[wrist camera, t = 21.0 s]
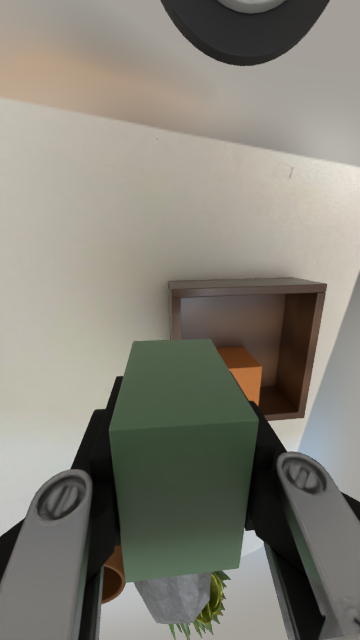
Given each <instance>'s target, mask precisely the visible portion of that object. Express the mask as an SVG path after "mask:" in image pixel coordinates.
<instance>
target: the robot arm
mask: <svg viewBox="0 0 360 640" xmlns="http://www.w3.org/2000/svg"><path fill="white" fill-rule="evenodd" d="M217 1H218V2H220V3H221V4H222V5H224V6H225V7H228V8H230V9H232V10H235V11H237V12H242V13H249V14H253V13H261V12H265V11H268V10H270V9H273V8H275V7H277V6H278V5H280V4H281V3H283V2H284V1H286V0H217ZM230 372H231V371H230ZM231 374H232V372H231ZM232 376H233V374H232ZM123 377H124V376H117V377H116V380H115V383H114V386H113V389H112V392H111V395H110V398H109V401H108V404H107V407H106V409H97V410H95V411H94V412H93V414H92V417H91V419H90V422H89V424H88V427H87V429H86V432H85V434H84V437H83V439H82V442H81V444H80V447H79V449H78V452H77V454H76V457H75V459H74V462H73V464H72V467H71V469H70V470H67V471H63V472H60V473H59V474H57V475H55V476H53V477H51V478H50V479H49V480H48V481H47V482H45V483H44V484H43V485H42V486H41V488H40V489H39V490H38V491H37V492H36V494H35V496H34V498H33V500H32V501H31V504H30V507H29V509H28V512H27V514H26V517H25V518H24V519H23V520H22V521H20V522H19V523H18V524H16V525H15V526H14V527H12V528H11V529H10V530H8V531H7V532H6V533H5V534H3V535H2V536H1V537H0V640H99V627H100V614H101V601H102V586H103V572H104V563H105V562H106V561H107V560H108V559H109V558H110V556H111V555H112V554H113V553H114V550H115V546H119V545H120V542H121V537H120V528H119V518H118V509H117V500H116V491H115V482H114V473H113V463H112V454H111V445H110V436H109V427H110V423H111V420H112V416H113V413H114V409H115V405H116V402H117V398H118V395H119V391H120V388H121V384H122V380H123ZM233 377H234V376H233ZM234 379H235V377H234ZM235 381H236V382H237V380H236V379H235ZM237 384H238V382H237ZM238 386H239V387H240V385H239V384H238ZM240 389H241V387H240ZM241 391H242V392H243V390H242V389H241ZM243 394H244V392H243ZM244 396H245V397H246V395H245V394H244ZM246 399H247V401H248V402H249V404H250V406H251V407H252V409H253V411H254V412H255V414H256V416H257V417H258V419H259V422H258V430H257V437H256V444H255V452H254V459H253V467H252V474H251V482H250V489H249V497H248V504H247V511H246V519H245V526H244V527H245V530H246V531H250V530H255V533H256V536H258V537H259V538H260V539H261V540H263V541H264V547H265V551H266V555H267V559H268V562H269V566H270V570H271V574H272V578H273V582H274V586H275V590H276V593H277V597H278V601H279V605H280V609H281V613H282V617H283V620H284V625H285V629H286V632H287V636H288V640H360V502H359V501H357V500H355V499H353V498H352V497H349V496H348V495H346V494H344V493H342V492H341V491H340V490H339V489H338V487H337V486H336V484H335V483H334V481H333V479H332V478H331V476H330V475H329V473H328V472H327V471H326V470H325V468H324V467H323V466H322V465H321V464H320V463H318V462H317V461H316V460H314V459H313V458H311V457H309V456H307V455H305V454H302V453H299V452H293V451H291V452H287V451H286V449H285V448H284V446H283V444H282V443H281V441H280V440H279V438H278V437H277V435H276V434H275V432H274V431H273V429H272V427H271V426H270V424H269V423H268V421H267V420H266V418H265V417H264V415H263V414H262V412H261V410H260V409H259V407H258V406H257V404H256V403H255V402H254V401H249V400H248V398H247V397H246Z"/></svg>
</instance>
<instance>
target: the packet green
mask: <svg viewBox="0 0 360 640" xmlns="http://www.w3.org/2000/svg"><path fill="white" fill-rule="evenodd" d="M258 422H259V419H258V417H257V416H256V414H255V412H254V411H253V409H252V407H251V406H250V404H249V402H248V401H247V399H246V397H245V396H244V394H243V392H242V391H241V389H240V387H239V386H238V384H237V382H236V381H235V379H234V377H233V376H232V374H231V372H230V371H229V369H228V367H227V366H226V364H225V362H224V361H223V359H222V357H221V356H220V354H219V353H218V351H217V349H216V348H215V346H214V344H213V343H212V341H211V339H191V340H158V341H134V342H133V344H132V348H131V352H130V355H129V359H128V362H127V366H126V370H125V373H124V377H123V380H122V384H121V388H120V391H119V395H118V398H117V402H116V405H115V409H114V413H113V416H112V420H111V423H110V427H109V436H110V445H111V454H112V463H113V473H114V482H115V491H116V500H117V509H118V518H119V528H120V537H121V546H122V555H123V564H124V573H125V581H126V582H127V583H128V582H136V581H143V580H151V579H159V578H167V577H175V576H182V575H190V574H198V573H206V572H213V571H221V570H229V569H236V568H239V563H240V556H241V549H242V541H243V534H244V526H245V519H246V511H247V504H248V497H249V489H250V482H251V474H252V467H253V459H254V452H255V444H256V437H257V430H258Z"/></svg>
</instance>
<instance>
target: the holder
mask: <svg viewBox="0 0 360 640" xmlns="http://www.w3.org/2000/svg"><path fill="white" fill-rule="evenodd" d="M326 288H327V284H325V283H320V282H314V281H309V280H303V279H297V278H292V277H287V278H255V279H223V280H191V281H168V289H169V318H170V340H191V339H211V341H212V343H213V344H214V346H215V348H226V347H244V348H245V349H246V350H247V351H248V352H249V353H250V354H251V355H252V356H253V357H254V358H255V359H256V361H257V362H258V363H259V364H260V365H261V366H262V374H261V384H260V394H259V404H258V407H259V409H260V410H261V412H262V414H263V415H264V417H265V418H266V420H267V421H273V420H285V419H296V418H304V415H305V409H306V403H307V397H308V391H309V386H310V380H311V374H312V368H313V363H314V357H315V351H316V346H317V340H318V334H319V328H320V323H321V317H322V311H323V305H324V300H325V294H326V293H325V292H326Z"/></svg>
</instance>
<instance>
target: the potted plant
mask: <svg viewBox="0 0 360 640" xmlns="http://www.w3.org/2000/svg"><path fill="white" fill-rule="evenodd" d="M227 579H228V580H230V578H229V577H228V576H227V575H226V574H225V573H224V572H223V571H222V570H221V571H213V572H206V573H198V574H190V575H182V576H175V577H167V578H159V579H151V580H143V581H136V582H134V584H135V586H136V588H137V590H138V592H139V593H140V595H141V597H142V599H143V601H144V602H145V604H146V606H147V608H148V610H149V611H150V613H151V615H152V617H153V618H154V619H155V621H156V623H162V624H169V626H170V629H171V632H172V634H173V637H174V639H175V633H174V625H173V624H176V625H177V627H178V628H179V630H180V631H181V628H180V625H179V623H180V624H181V627H182V629H183V631H184V633H185V634H186V637H187V639H188V640H190V638H189V635H190V634H189V633H190V630H189V627H188V624H189V623H193V624H194V626H195V629H196V631H197V632H198V633H199V634H200V636H201V632H200V629H199V626H200V628H201V629H202V630H203V631H204V632H205V629H204V627H205V628H206V629H207V630H209V631H210V632H211V633H212V634H213V632H212V627H211V626H212V625H211V623H210V622H211V620H214V621H216V622H217V623H219V621H218V619H217V615H222V616H223V614H222V612H221V610H225V609H224V607H223V604H222V602H221V601H222V600H223V599H221V598H224V599H226V598H225V596H224V594H223V592H222V588H223V589H224V587H226V585H225V584H224V583H223V581H222V580H227ZM219 624H220V623H219ZM181 632H182V631H181ZM201 638H202V636H201Z"/></svg>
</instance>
